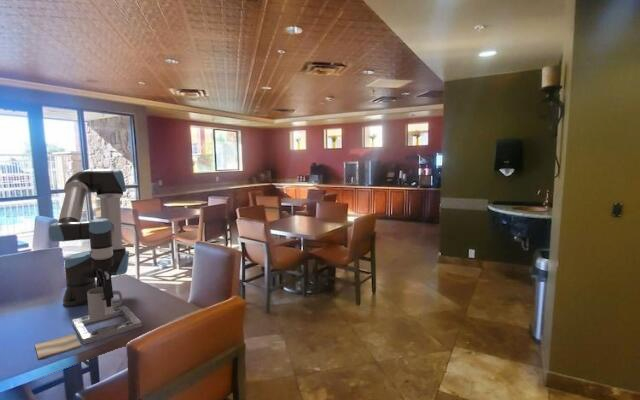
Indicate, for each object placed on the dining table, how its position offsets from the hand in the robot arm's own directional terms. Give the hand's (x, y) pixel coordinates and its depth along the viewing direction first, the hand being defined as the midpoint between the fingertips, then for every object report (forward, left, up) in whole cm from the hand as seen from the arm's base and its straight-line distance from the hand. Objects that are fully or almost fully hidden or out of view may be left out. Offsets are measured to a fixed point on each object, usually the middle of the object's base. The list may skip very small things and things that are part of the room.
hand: (106, 310), depth 140 cm
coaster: (+6, -17, -6) cm, 19 cm away
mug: (0, 0, -2) cm, 2 cm away
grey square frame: (0, 0, -6) cm, 6 cm away
